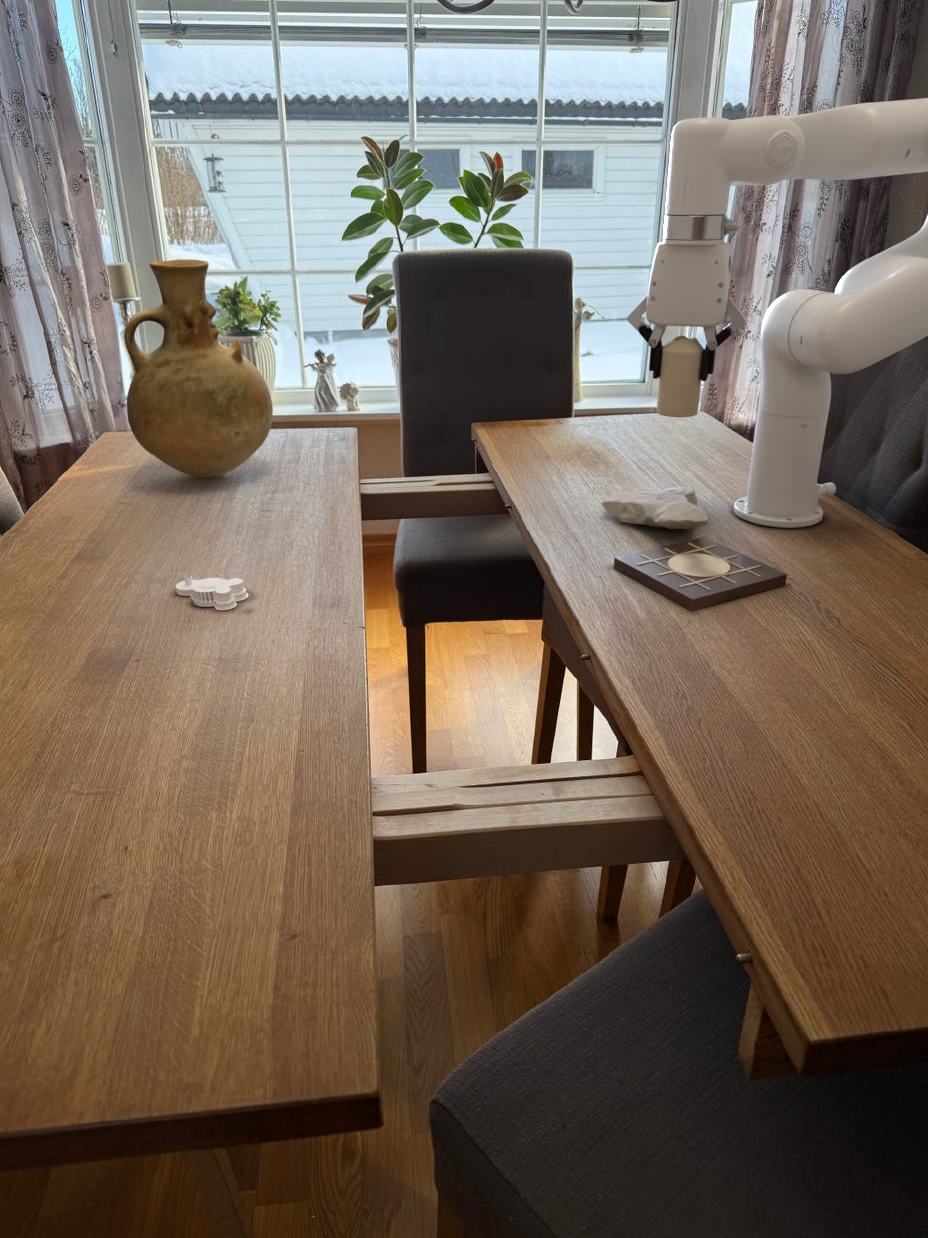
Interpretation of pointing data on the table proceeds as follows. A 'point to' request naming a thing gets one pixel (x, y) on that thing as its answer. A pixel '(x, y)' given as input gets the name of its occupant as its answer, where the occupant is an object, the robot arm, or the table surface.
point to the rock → (658, 508)
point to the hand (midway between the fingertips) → (680, 376)
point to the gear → (213, 591)
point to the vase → (194, 382)
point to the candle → (680, 378)
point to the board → (699, 572)
